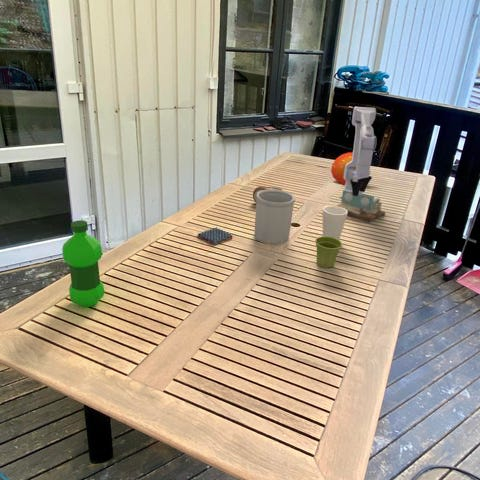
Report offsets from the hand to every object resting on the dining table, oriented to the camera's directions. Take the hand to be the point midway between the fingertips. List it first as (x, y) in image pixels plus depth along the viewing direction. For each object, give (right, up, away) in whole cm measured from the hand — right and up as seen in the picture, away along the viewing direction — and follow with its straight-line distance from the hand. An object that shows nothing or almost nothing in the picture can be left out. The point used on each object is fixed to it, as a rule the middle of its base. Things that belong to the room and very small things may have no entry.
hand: (358, 193), depth 198 cm
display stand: (+2, -8, +6) cm, 10 cm away
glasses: (+2, -4, +5) cm, 7 cm away
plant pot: (-23, -30, -41) cm, 55 cm away
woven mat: (-63, -21, -26) cm, 71 cm away
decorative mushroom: (+7, +12, +49) cm, 50 cm away
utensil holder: (-41, -20, -23) cm, 51 cm away
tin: (-40, -4, +10) cm, 41 cm away
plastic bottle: (-98, -39, -70) cm, 126 cm away
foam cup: (-17, -21, -23) cm, 36 cm away
